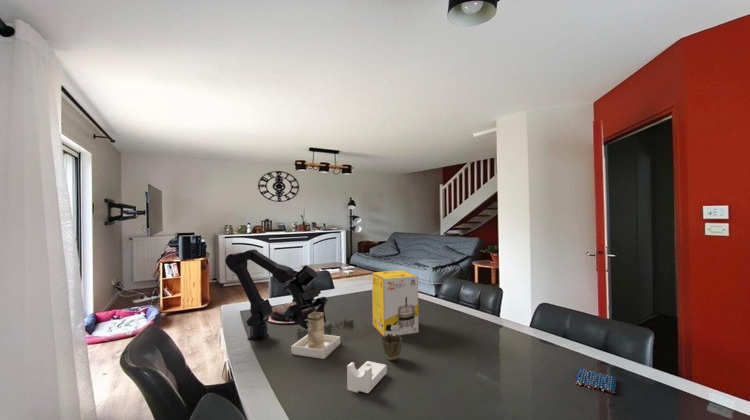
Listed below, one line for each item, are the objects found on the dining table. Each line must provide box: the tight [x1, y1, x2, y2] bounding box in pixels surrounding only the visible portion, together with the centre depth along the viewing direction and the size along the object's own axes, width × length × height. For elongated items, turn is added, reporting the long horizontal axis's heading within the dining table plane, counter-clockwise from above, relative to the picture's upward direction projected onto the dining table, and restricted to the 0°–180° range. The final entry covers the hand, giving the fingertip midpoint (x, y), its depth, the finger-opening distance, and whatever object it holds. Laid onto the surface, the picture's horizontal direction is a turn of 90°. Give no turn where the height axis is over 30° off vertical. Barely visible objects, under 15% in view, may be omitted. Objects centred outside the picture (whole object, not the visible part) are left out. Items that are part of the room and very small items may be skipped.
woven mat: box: [573, 367, 617, 394], centre depth 98 cm, size 10×11×2 cm
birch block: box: [307, 312, 325, 349], centre depth 125 cm, size 5×5×13 cm
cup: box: [381, 334, 403, 362], centre depth 115 cm, size 8×7×8 cm
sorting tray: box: [290, 334, 341, 360], centre depth 125 cm, size 14×14×3 cm
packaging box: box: [371, 269, 420, 337], centre depth 146 cm, size 16×16×25 cm
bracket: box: [346, 360, 387, 394], centre depth 100 cm, size 13×7×8 cm, turn 153°
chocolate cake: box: [267, 301, 316, 325], centre depth 167 cm, size 28×28×7 cm
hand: (316, 325), depth 125 cm, fingers open, 9 cm apart
